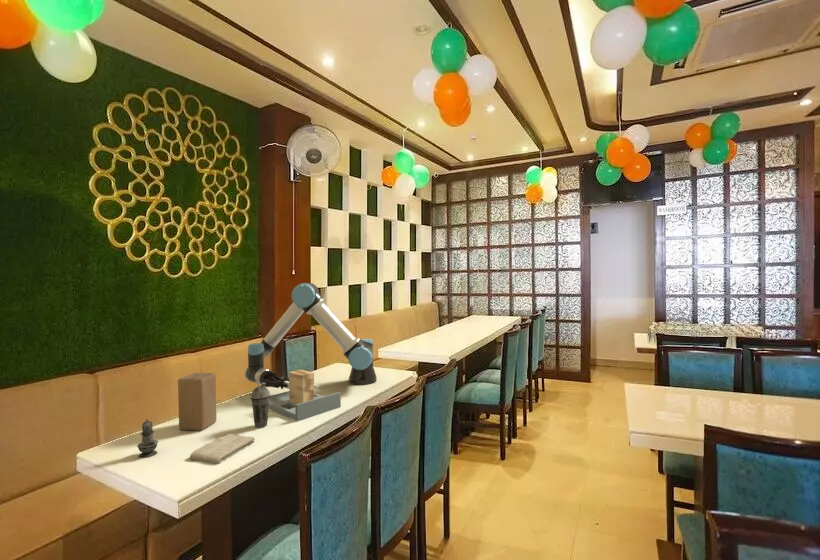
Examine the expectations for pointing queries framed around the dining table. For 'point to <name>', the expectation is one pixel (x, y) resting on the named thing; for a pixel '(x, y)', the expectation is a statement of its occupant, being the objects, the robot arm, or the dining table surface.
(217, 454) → the washcloth
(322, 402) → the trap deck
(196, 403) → the block
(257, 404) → the beverage cup
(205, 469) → the dining table surface
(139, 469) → the dining table surface
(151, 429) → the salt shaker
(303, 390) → the oak block
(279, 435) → the dining table surface
